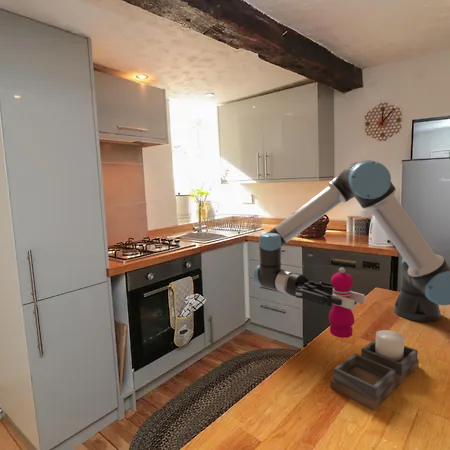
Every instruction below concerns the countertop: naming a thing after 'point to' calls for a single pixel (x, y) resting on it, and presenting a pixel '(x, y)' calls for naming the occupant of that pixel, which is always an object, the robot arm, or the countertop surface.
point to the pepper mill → (340, 315)
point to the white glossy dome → (390, 345)
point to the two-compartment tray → (372, 375)
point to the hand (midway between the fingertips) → (358, 302)
